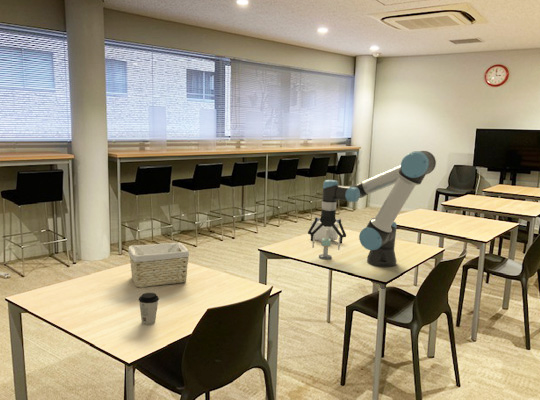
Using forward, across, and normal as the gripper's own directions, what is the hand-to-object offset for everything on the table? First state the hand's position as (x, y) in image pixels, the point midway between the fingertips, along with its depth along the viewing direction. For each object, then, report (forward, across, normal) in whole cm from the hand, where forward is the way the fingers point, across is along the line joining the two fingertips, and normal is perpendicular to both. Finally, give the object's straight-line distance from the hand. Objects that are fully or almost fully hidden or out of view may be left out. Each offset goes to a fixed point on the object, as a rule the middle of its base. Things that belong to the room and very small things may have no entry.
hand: (325, 248), depth 258 cm
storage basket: (+6, +72, +57) cm, 92 cm away
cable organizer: (+6, +2, -39) cm, 39 cm away
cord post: (+5, 0, 0) cm, 5 cm away
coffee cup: (+6, +59, +99) cm, 116 cm away
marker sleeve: (-2, 0, 0) cm, 2 cm away
